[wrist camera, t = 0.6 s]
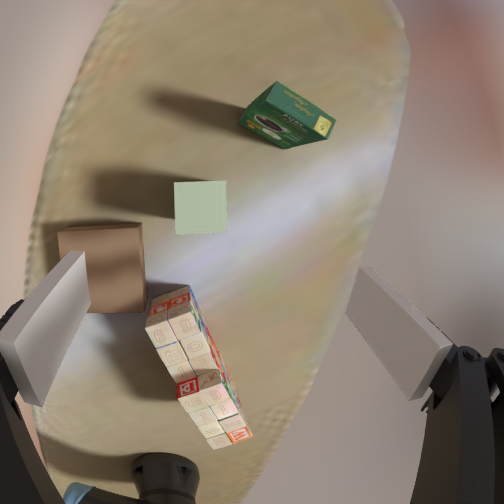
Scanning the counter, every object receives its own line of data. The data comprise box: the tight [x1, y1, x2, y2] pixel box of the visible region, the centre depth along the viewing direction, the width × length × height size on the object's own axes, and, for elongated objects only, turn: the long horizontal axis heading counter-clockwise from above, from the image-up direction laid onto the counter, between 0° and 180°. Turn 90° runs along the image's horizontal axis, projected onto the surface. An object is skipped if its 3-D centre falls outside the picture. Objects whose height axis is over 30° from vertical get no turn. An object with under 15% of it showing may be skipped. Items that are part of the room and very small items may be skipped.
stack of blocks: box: [145, 285, 253, 450], centre depth 39 cm, size 21×6×12 cm, turn 18°
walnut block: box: [57, 223, 147, 313], centre depth 36 cm, size 11×11×5 cm
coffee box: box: [238, 81, 336, 149], centre depth 33 cm, size 8×3×13 cm, turn 62°
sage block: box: [174, 181, 227, 235], centre depth 34 cm, size 5×5×12 cm
